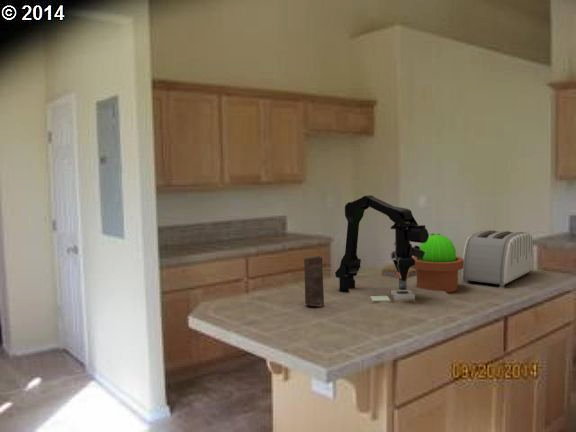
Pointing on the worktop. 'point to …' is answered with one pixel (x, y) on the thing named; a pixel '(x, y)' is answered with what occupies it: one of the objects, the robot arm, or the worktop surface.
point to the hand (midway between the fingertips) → (402, 279)
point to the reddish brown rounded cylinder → (402, 283)
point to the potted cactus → (438, 265)
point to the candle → (314, 281)
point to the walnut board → (389, 301)
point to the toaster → (497, 257)
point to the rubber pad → (379, 298)
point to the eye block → (402, 295)
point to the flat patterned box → (392, 271)
